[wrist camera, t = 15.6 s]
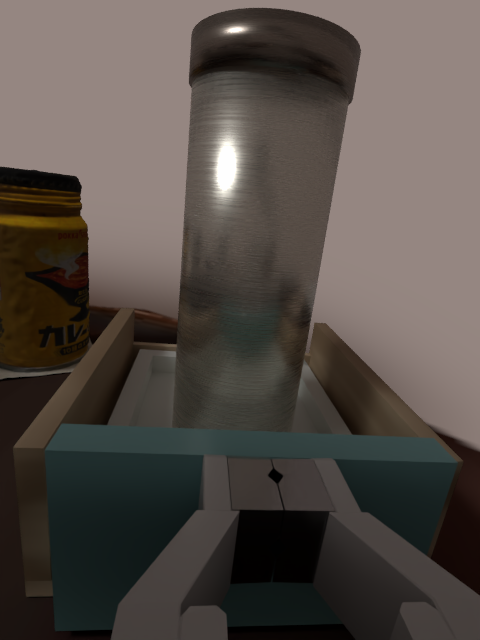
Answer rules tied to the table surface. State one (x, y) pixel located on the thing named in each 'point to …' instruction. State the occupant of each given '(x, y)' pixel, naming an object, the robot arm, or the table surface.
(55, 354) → the condiment
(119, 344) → the housing
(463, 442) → the table surface
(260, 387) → the canister
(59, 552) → the tray
